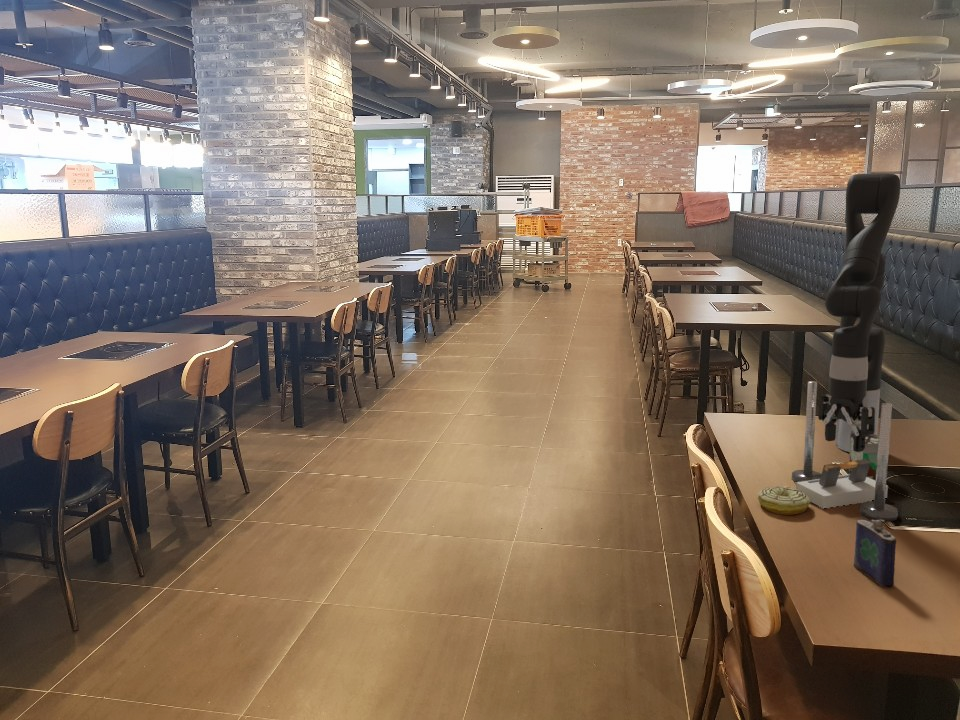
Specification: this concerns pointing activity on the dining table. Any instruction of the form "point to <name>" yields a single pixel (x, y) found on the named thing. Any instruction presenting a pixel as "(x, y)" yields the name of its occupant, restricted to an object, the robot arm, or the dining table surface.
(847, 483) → the switch panel
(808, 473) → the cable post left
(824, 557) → the dining table surface
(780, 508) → the decorated donut
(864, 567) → the flask
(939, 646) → the dining table surface
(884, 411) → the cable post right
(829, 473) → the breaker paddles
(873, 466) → the food container
